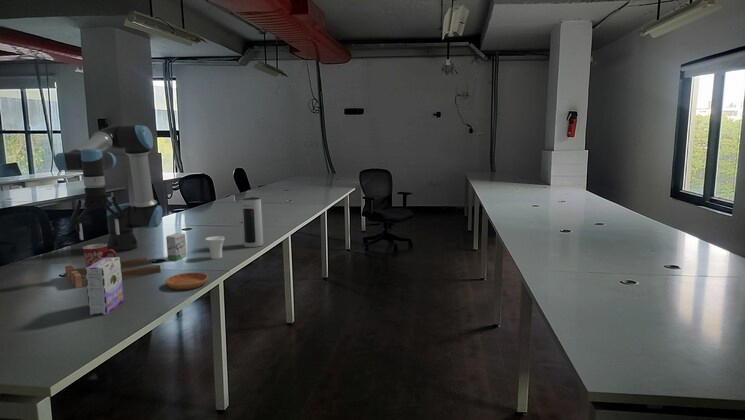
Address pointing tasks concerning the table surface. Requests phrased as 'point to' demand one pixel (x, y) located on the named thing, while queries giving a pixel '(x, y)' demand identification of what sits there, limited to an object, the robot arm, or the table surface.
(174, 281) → the saucer
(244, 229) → the speaker
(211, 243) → the cup
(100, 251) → the mug
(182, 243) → the ink box
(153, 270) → the guide channel
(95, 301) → the candy box
